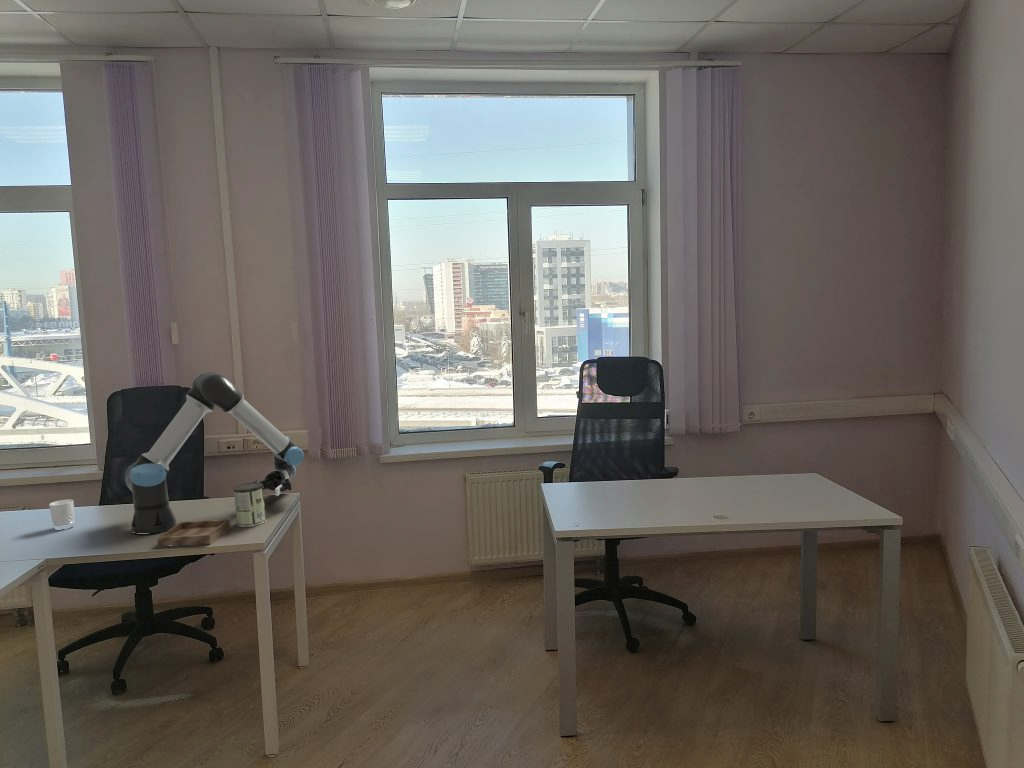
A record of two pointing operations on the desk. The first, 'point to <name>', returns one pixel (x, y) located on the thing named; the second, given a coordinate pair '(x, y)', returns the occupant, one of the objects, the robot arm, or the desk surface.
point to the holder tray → (194, 533)
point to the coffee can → (249, 504)
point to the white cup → (62, 512)
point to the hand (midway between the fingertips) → (258, 493)
